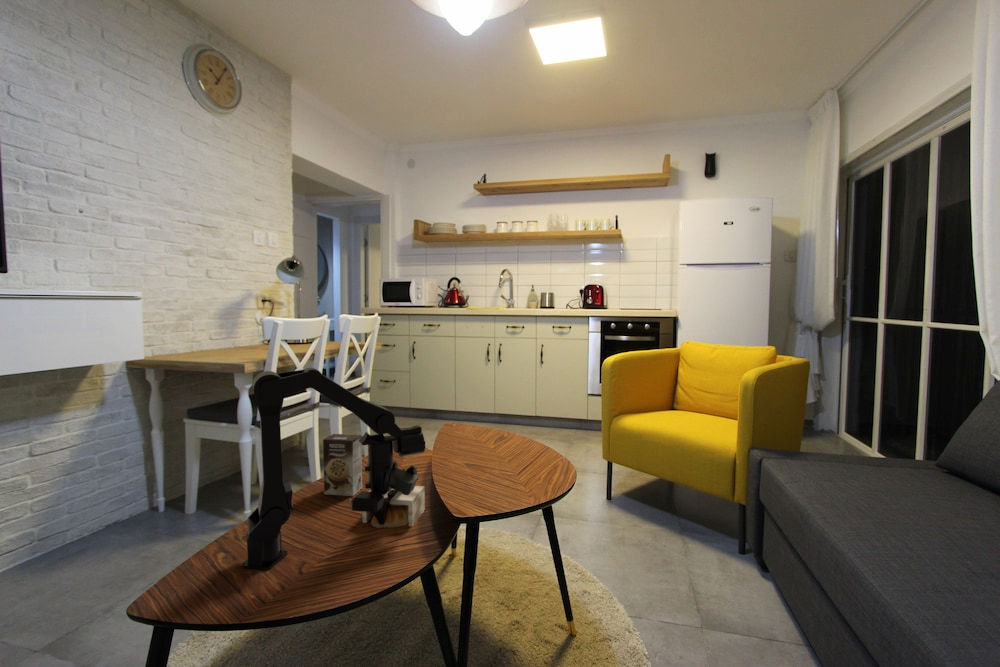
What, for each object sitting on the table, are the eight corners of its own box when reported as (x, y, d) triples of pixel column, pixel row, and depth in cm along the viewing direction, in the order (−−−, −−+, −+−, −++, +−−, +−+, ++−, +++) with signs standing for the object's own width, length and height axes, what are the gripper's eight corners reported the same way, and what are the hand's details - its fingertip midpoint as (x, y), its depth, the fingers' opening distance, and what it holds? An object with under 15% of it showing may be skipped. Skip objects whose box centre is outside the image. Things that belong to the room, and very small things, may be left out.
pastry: (374, 533, 106) (373, 517, 106) (368, 521, 112) (368, 506, 112) (413, 524, 111) (412, 509, 110) (405, 513, 117) (405, 499, 116)
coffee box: (323, 495, 128) (321, 439, 127) (334, 486, 134) (333, 433, 133) (353, 496, 127) (352, 440, 126) (363, 487, 133) (362, 434, 132)
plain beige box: (412, 526, 109) (412, 500, 109) (362, 522, 111) (362, 497, 111) (424, 510, 118) (424, 486, 118) (378, 506, 120) (378, 483, 120)
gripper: (397, 476, 96) (398, 547, 97) (426, 449, 114) (427, 509, 115) (349, 473, 98) (350, 543, 99) (385, 447, 116) (386, 506, 117)
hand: (382, 524), depth 107 cm, fingers closed
